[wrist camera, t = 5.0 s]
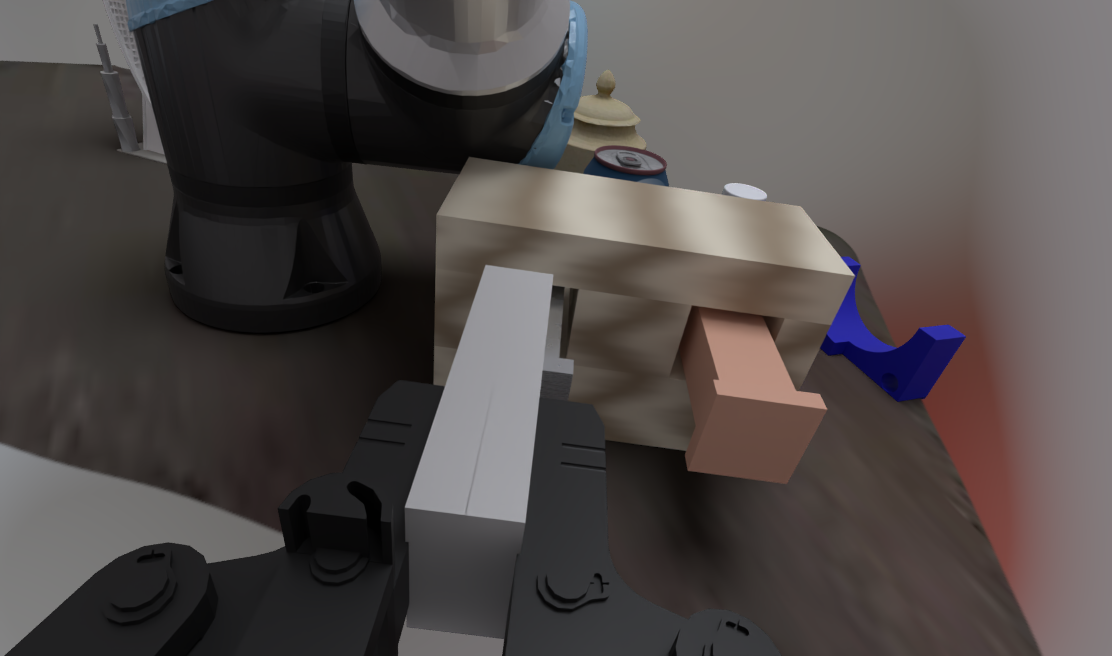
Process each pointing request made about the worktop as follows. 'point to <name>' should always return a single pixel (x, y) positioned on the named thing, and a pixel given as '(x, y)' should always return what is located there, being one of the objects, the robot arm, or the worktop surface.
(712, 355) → the terracotta plug
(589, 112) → the sugar bowl
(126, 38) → the skyscraper
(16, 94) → the worktop surface
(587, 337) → the housing
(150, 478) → the worktop surface
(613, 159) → the soda can
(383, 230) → the worktop surface
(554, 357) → the grey plug
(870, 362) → the blue curved cradle
